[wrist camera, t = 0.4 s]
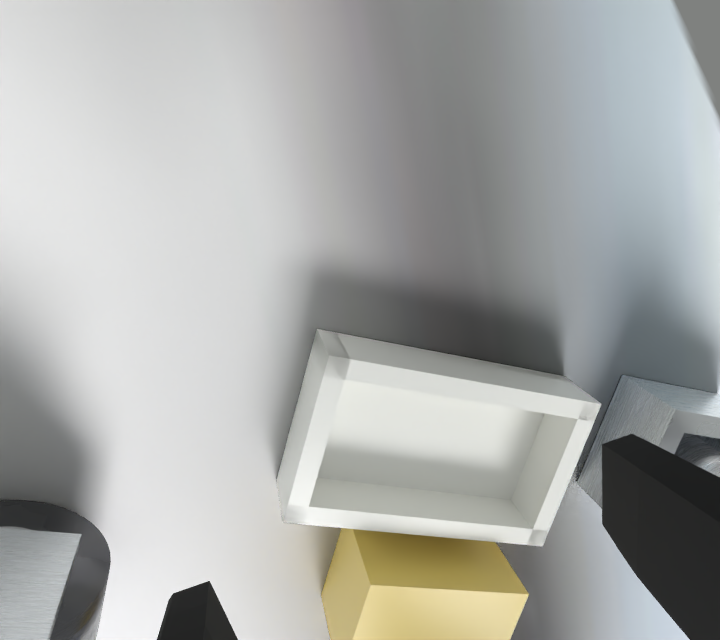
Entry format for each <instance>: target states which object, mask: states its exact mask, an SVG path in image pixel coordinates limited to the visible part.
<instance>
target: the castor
mask: <svg viewBox="0 0 720 640" xmlns="http://www.w3.org/2000/svg"><path fill="white" fill-rule="evenodd" d="M110 562H111V561H110V551H109V547H108V544H107V542H106V540H105V538H104V536H103V535H102V534H101V532H100V531H99V530H98V529H97V528H96V527H95V526H94V525H93V524H92V523H91V522H89V521H88V520H87V519H85V518H84V517H82V516H80V515H78V514H77V513H75V512H72V511H70V510H67V509H65V508H62V507H58V506H55V505H51V504H46V503H42V502H34V501H22V500H1V501H0V640H95V639H96V636H97V632H98V627H99V622H100V617H101V611H102V606H103V601H104V596H105V590H106V585H107V580H108V575H109V569H110Z"/></svg>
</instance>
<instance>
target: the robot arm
mask: <svg viewBox="0 0 720 640" xmlns="http://www.w3.org/2000/svg"><path fill="white" fill-rule="evenodd" d="M602 524H603V526H604V527H605V529H606V530H607V532H608V534H609V535H610V537H611V538H612V540H613V541H614V543H615V544H616V546H617V547H618V549H619V551H620V552H621V554H622V555H623V557H624V558H625V559H626V561H627V562H628V564H629V565H630V567H631V568H632V570H633V571H634V573H635V574H636V575H637V577H638V578H639V579H640V580H641V582H642V583H643V584H644V585H645V587H646V588H647V589H648V590H649V591H650V593H651V594H652V595H653V596H654V597H655V599H656V600H657V601H658V602H659V603H660V605H661V606H662V607H663V608H664V609H665V611H666V612H667V613H668V614H669V615H670V617H671V618H672V619H673V620H674V621H675V622H676V624H677V625H678V626H679V627H680V628H681V630H682V631H683V632H684V633H685V634H686V636H687V637H688V638H689V639H690V640H720V477H718V476H716V475H714V474H712V473H710V472H708V471H706V470H704V469H702V468H700V467H698V466H696V465H694V464H692V463H690V462H688V461H686V460H684V459H682V458H680V457H678V456H676V455H674V454H672V453H670V452H668V451H666V450H664V449H662V448H660V447H658V446H656V445H654V444H652V443H650V442H648V441H646V440H644V439H642V438H640V437H638V436H636V435H634V434H629V435H627V436H624V437H621V438H618V439H615V440H612V441H609V442H606V443H604V444H602ZM157 640H238V639H237V637H236V635H235V633H234V631H233V629H232V627H231V625H230V622H229V620H228V618H227V616H226V614H225V612H224V610H223V608H222V606H221V604H220V602H219V600H218V598H217V595H216V593H215V591H214V589H213V587H212V585H211V583H210V581H208V582H205V583H202V584H199V585H197V586H194V587H191V588H188V589H185V590H182V591H179V592H176V593H174V594H173V595H172V596H171V598H170V599H169V601H168V605H167V608H166V611H165V615H164V618H163V622H162V625H161V628H160V631H159V635H158V638H157Z"/></svg>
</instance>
